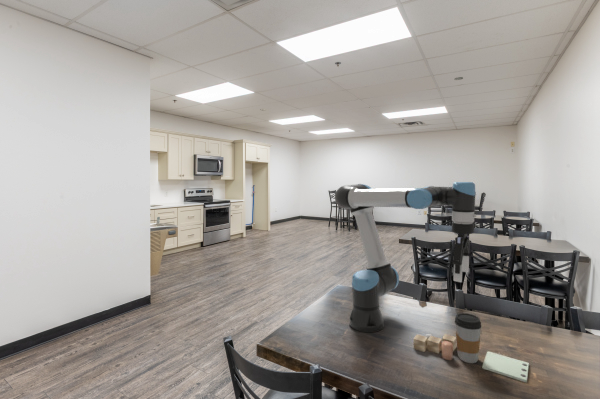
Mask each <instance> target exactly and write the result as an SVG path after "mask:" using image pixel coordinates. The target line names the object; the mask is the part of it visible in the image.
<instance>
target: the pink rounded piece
mask: <svg viewBox="0 0 600 399" xmlns="http://www.w3.org/2000/svg"><path fill="white" fill-rule="evenodd" d="M453 355H454V354H453V344H452V343H450V342H448V341H443V342H442V349H441V358H442V359H444V360H446V361H452V360H453V359H454V356H453Z"/></svg>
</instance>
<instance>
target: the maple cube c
mask: <svg viewBox="0 0 600 399" xmlns="http://www.w3.org/2000/svg"><path fill="white" fill-rule="evenodd" d="M441 339H442V342H443V341H448V342H450V343H452V344H453V352H455V350H456V349H457V341H456V336H454V335H452V334H451V335H450V334H446V333H444V335H443V336H442V338H441Z"/></svg>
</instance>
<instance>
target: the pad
mask: <svg viewBox="0 0 600 399" xmlns="http://www.w3.org/2000/svg"><path fill="white" fill-rule="evenodd" d="M529 365H530V363H529V362H526V361H524V360H519V359H517V358H513V357H509V356H507V355H503V354H500V353H496V352H492V351H488V350H487V352H486V354H485V357H484V361H483V363H482V366H481V367H482V369H483V370H487V371H490V372H493V373H496V374H499V375H502V376H504V377H508V378H511V379H514V380H518V381H519V382H520V381H521V382H524V383H526V384H527V382H528V377H529V376H528V374H529Z"/></svg>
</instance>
